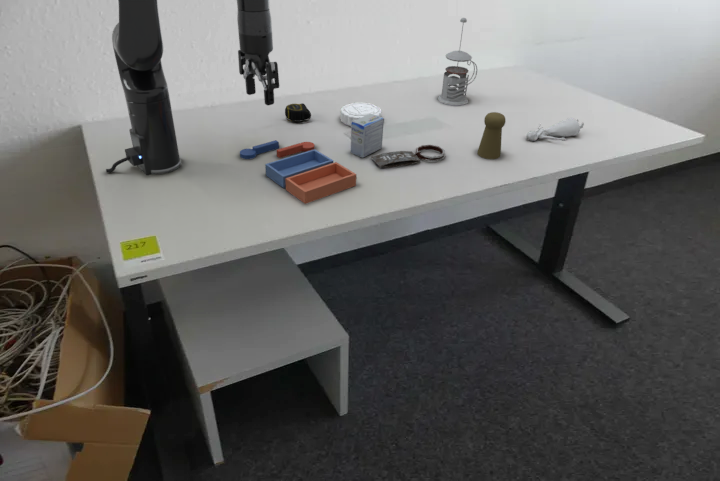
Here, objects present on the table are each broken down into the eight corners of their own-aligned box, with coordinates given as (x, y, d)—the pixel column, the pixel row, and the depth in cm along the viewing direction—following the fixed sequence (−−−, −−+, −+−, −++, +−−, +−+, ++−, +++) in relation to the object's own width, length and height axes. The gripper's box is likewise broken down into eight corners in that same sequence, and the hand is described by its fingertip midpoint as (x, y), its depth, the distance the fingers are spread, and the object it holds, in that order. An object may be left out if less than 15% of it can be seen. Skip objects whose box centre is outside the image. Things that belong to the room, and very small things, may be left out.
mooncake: (388, 125, 158) (388, 113, 156) (348, 130, 154) (349, 118, 152) (371, 110, 167) (372, 99, 165) (334, 114, 163) (334, 103, 161)
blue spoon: (245, 160, 137) (244, 154, 136) (237, 154, 139) (236, 148, 138) (281, 150, 142) (281, 143, 141) (273, 144, 145) (273, 138, 144)
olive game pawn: (483, 160, 141) (490, 119, 135) (473, 150, 146) (479, 110, 140) (504, 158, 143) (512, 117, 136) (494, 148, 147) (501, 108, 141)
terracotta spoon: (308, 144, 146) (308, 137, 145) (317, 149, 143) (317, 143, 142) (274, 154, 140) (273, 147, 139) (282, 160, 138) (282, 153, 137)
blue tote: (283, 188, 126) (282, 176, 124) (265, 175, 131) (265, 163, 129) (333, 171, 133) (333, 160, 132) (315, 160, 138) (314, 149, 137)
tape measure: (311, 122, 158) (311, 110, 156) (287, 124, 156) (287, 112, 154) (306, 114, 163) (305, 101, 161) (283, 115, 161) (282, 103, 159)
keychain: (369, 157, 141) (369, 150, 139) (436, 148, 146) (437, 141, 145) (380, 170, 135) (381, 163, 133) (450, 160, 140) (451, 153, 139)
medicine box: (369, 143, 147) (370, 112, 142) (382, 148, 145) (384, 117, 140) (350, 153, 142) (350, 121, 137) (363, 158, 140) (364, 126, 135)
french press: (432, 95, 180) (441, 14, 166) (464, 93, 183) (476, 13, 169) (445, 106, 172) (455, 22, 158) (478, 103, 175) (492, 20, 161)
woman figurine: (596, 124, 151) (541, 137, 146) (592, 139, 154) (539, 152, 149) (567, 109, 160) (515, 121, 155) (564, 124, 163) (513, 136, 157)
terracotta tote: (305, 204, 120) (305, 192, 119) (285, 190, 125) (285, 178, 123) (356, 185, 128) (356, 174, 126) (336, 173, 133) (336, 161, 131)
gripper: (225, 25, 127) (232, 93, 137) (257, 39, 119) (262, 111, 128) (253, 21, 132) (258, 88, 141) (286, 34, 123) (289, 104, 132)
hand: (260, 99), depth 134 cm, fingers open, 8 cm apart
